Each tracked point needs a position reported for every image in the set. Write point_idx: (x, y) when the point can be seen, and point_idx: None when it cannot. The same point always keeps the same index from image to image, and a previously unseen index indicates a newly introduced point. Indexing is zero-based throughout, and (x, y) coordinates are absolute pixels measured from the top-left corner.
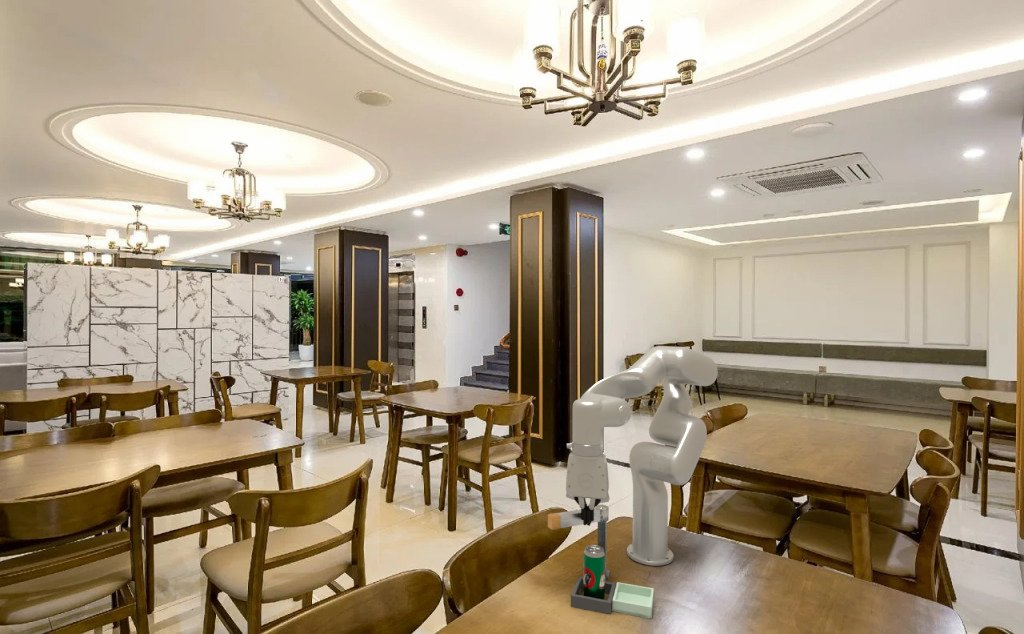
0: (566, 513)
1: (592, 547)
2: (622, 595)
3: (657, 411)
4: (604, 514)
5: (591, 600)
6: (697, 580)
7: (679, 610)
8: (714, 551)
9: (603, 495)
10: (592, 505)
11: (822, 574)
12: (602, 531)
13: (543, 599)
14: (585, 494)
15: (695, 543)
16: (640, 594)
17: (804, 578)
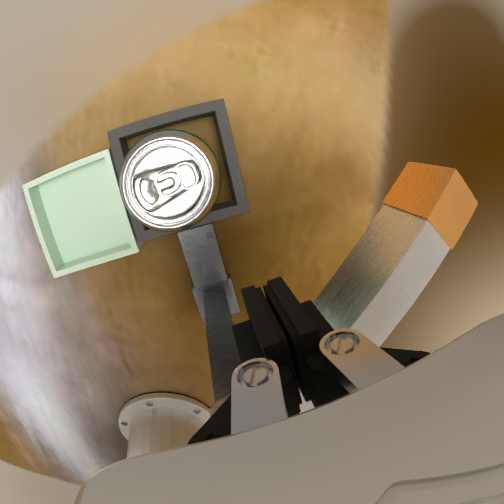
0: (407, 279)
1: (182, 193)
2: (118, 226)
3: None
4: None
5: (161, 114)
6: (49, 383)
7: (11, 256)
8: (95, 468)
9: (92, 496)
10: (249, 388)
11: None
12: (224, 371)
13: (298, 98)
14: (363, 423)
15: None
16: (84, 257)
17: None
